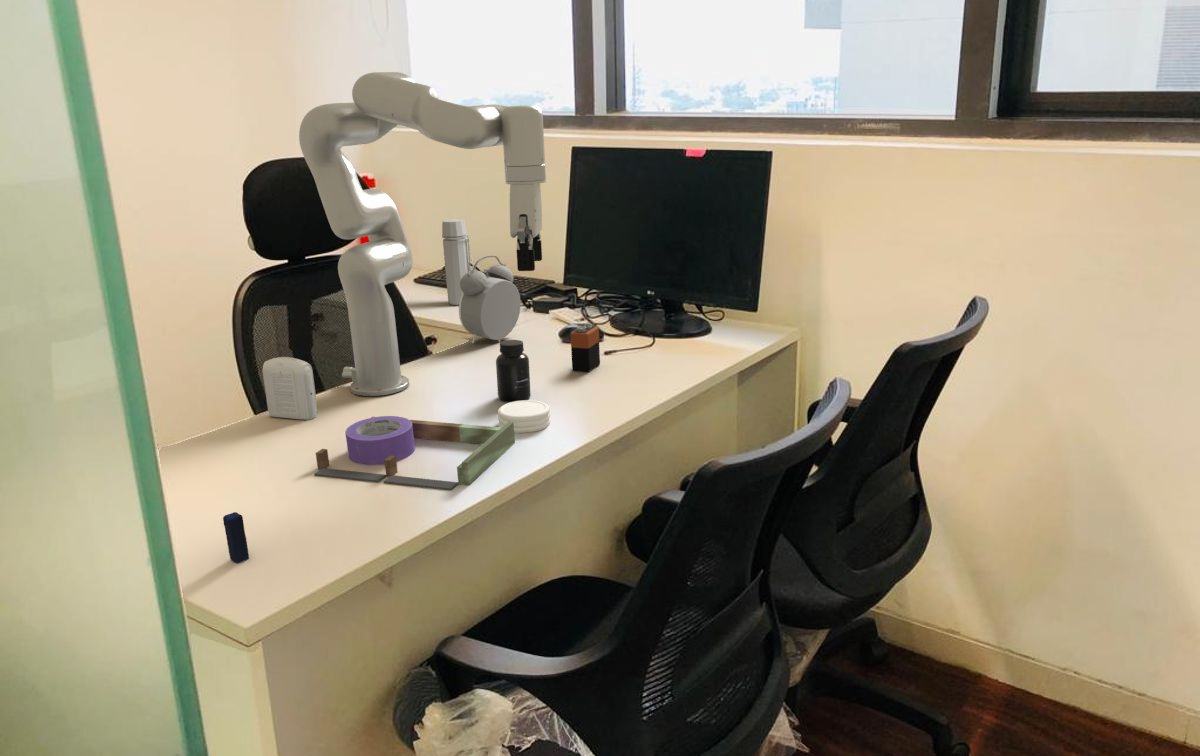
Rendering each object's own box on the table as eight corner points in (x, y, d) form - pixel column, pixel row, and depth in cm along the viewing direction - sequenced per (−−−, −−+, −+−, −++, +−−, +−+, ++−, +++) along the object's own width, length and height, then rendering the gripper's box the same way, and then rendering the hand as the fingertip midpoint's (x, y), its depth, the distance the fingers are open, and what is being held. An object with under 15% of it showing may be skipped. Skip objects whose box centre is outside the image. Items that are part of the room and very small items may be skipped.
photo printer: (321, 414, 187) (313, 356, 183) (309, 421, 183) (301, 362, 179) (278, 410, 190) (270, 353, 186) (265, 418, 186) (256, 359, 182)
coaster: (492, 421, 180) (490, 404, 179) (540, 412, 183) (539, 396, 182) (507, 438, 171) (506, 420, 170) (558, 428, 175) (557, 411, 174)
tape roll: (381, 470, 158) (378, 443, 157) (334, 458, 164) (330, 432, 163) (428, 447, 168) (425, 421, 166) (381, 436, 174) (379, 411, 172)
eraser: (236, 564, 128) (228, 520, 126) (228, 559, 130) (221, 515, 128) (250, 558, 130) (243, 514, 128) (243, 553, 131) (236, 510, 129)
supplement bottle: (525, 403, 188) (522, 347, 185) (494, 402, 190) (489, 346, 186) (534, 392, 195) (531, 338, 191) (503, 392, 196) (500, 337, 192)
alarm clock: (501, 331, 245) (495, 249, 238) (526, 335, 240) (521, 251, 233) (458, 346, 232) (450, 260, 225) (483, 350, 227) (476, 262, 220)
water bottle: (444, 306, 275) (436, 222, 267) (452, 300, 282) (445, 218, 275) (474, 306, 273) (467, 222, 266) (481, 300, 281) (475, 218, 273)
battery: (571, 371, 208) (569, 328, 205) (583, 362, 214) (581, 321, 211) (589, 373, 207) (587, 330, 204) (600, 364, 213) (599, 322, 210)
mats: (314, 475, 157) (314, 473, 157) (322, 469, 159) (322, 467, 159) (451, 490, 149) (451, 488, 149) (458, 483, 151) (458, 482, 151)
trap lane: (317, 469, 160) (314, 447, 158) (375, 430, 177) (373, 410, 176) (469, 485, 151) (467, 462, 150) (514, 442, 168) (513, 422, 167)
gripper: (513, 170, 180) (518, 257, 185) (496, 180, 163) (503, 275, 169) (551, 169, 179) (555, 257, 184) (538, 179, 163) (543, 274, 168)
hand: (530, 265), depth 176 cm, fingers open, 9 cm apart
